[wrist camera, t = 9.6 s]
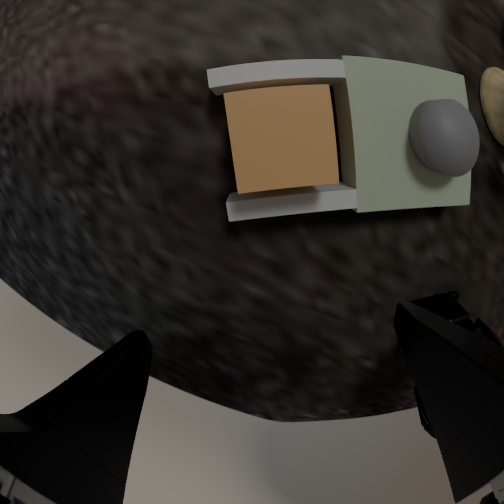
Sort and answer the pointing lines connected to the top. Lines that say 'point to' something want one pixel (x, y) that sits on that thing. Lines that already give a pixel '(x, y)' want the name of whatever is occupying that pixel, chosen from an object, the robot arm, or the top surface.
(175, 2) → the top surface
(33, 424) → the robot arm
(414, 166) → the two-pronged gray clamp
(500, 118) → the hand bell
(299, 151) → the cardboard shipping carton
